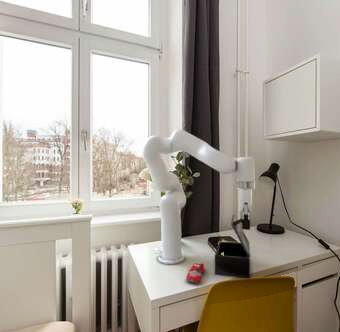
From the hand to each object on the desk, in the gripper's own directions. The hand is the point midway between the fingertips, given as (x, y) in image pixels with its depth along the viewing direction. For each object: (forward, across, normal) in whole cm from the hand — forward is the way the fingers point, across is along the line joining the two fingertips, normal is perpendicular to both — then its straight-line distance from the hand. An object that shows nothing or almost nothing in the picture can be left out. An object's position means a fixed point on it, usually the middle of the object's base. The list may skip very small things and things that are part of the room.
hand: (245, 227), depth 94 cm
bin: (+18, 0, -6) cm, 19 cm away
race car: (+18, +12, -20) cm, 29 cm away
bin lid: (+3, 0, -3) cm, 4 cm away
